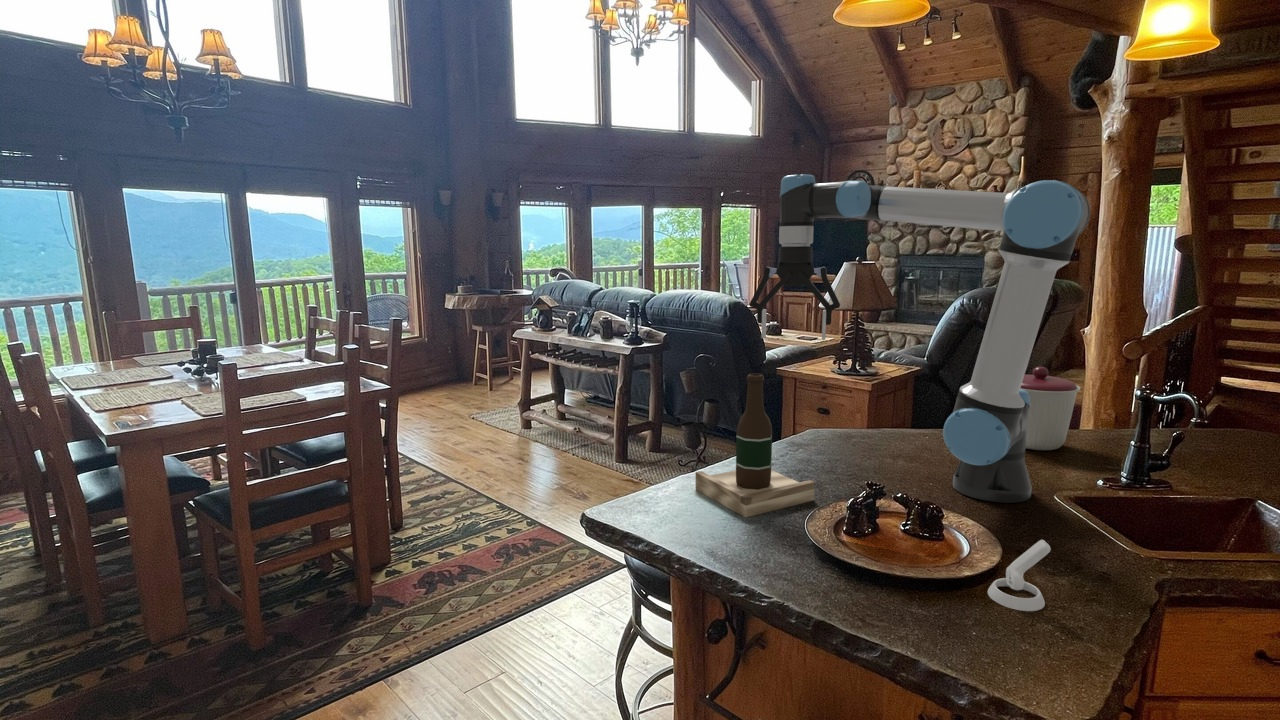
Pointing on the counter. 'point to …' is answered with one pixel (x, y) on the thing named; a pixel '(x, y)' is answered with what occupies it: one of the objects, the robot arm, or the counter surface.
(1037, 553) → the white ring with handle
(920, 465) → the counter surface
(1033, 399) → the canister
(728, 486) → the wooden tray
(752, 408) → the beer bottle
